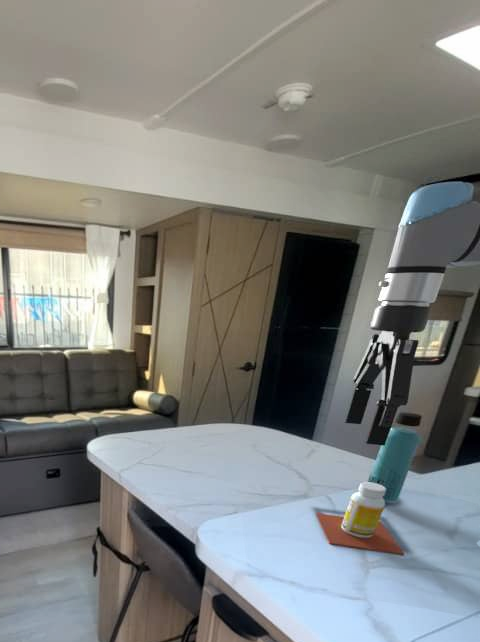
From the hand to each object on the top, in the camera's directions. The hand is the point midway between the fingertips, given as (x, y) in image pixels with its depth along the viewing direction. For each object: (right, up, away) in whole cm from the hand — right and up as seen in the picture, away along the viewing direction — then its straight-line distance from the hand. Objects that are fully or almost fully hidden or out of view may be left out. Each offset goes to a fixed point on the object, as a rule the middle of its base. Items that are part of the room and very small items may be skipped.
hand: (362, 433), depth 74 cm
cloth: (+1, -19, +4) cm, 19 cm away
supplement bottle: (+1, -19, +3) cm, 19 cm away
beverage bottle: (+14, -13, +16) cm, 25 cm away
